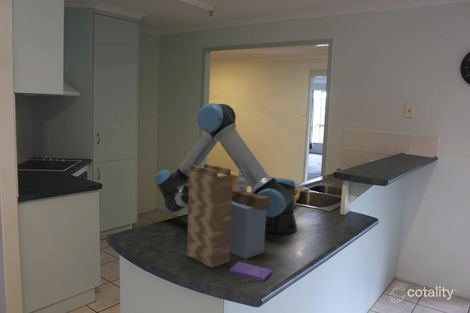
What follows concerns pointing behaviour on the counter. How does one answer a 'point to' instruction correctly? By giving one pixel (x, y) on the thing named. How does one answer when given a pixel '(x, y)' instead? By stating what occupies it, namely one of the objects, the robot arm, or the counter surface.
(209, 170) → the oak post
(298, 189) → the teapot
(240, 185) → the plastic bottle
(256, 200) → the walnut bar
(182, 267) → the counter surface
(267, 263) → the counter surface
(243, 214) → the blue step
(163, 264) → the counter surface
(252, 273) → the sponges
